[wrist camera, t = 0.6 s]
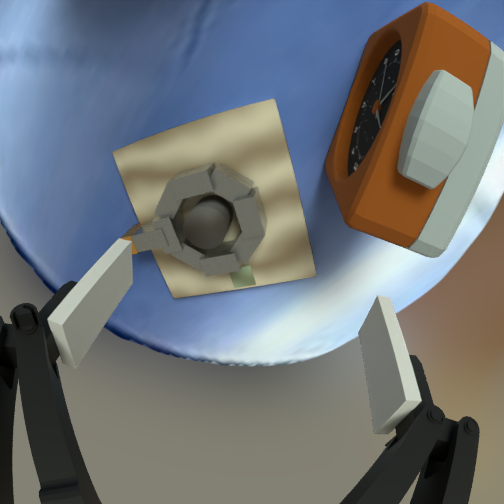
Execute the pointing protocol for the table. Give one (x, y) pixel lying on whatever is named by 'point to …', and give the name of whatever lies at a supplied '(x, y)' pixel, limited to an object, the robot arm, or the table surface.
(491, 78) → the alarm clock
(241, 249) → the grey handled ring
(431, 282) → the table surface
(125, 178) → the collar base
